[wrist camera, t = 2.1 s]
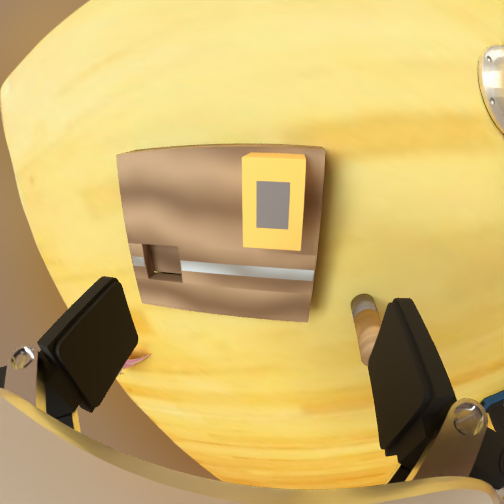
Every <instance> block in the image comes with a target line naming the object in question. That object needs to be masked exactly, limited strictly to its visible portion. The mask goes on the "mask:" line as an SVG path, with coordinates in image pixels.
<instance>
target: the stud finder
mask: <svg viewBox="0 0 504 504" xmlns="http://www.w3.org/2000/svg"><path fill="white" fill-rule="evenodd" d="M305 173H306V158H305V155H304V154H290V153H262V152H251V153H249V154H247V155H245V156H243V157H242V212H243V247H250V248H265V249H280V250H295V251H301V238H302V225H303V210H304V193H305Z"/></svg>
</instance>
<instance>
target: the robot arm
mask: <svg viewBox="0 0 504 504" xmlns="http://www.w3.org/2000/svg"><path fill="white" fill-rule="evenodd" d="M478 77H479V84H480V89H481V93H482V96H483V100H484V102H485V105H486V107H487V110H488V112H489V114H490V116H491V118H492V119H493V121H494V122H495V124H496V126H497V127H498V128H499V129H500V131H501V132H502V133H503V134H504V46H502V45H493V46H490V47H487V48H486V49H485V50H484V51H483V52H482V54H481V56H480V59H479V64H478ZM37 343H38V345H39V347H40V348H41V351H40V352H38V351H37V348H36V347H35V346H33V345H31V344H26V345H22V346H20V347H18V348H17V349H15V350H14V351H13V352H12V353H11V355H10V357H9V360H8V364H7V366H4V367H1V368H0V504H504V436H502V435H500V434H499V433H497V432H495V431H493V430H492V429H490V428H488V427H487V424H488V418H487V413H486V411H485V409H484V408H483V406H482V405H481V404H480V403H478V402H477V401H476V400H473V399H470V398H463V399H460V400H458V401H457V399H456V397H455V394H454V391H453V388H452V386H451V383H450V380H449V378H448V375H447V373H446V370H445V368H444V365H443V363H442V361H441V358H440V356H439V354H438V351H437V349H436V347H435V345H434V342H433V341H432V339H431V337H430V335H429V332H428V330H427V328H426V326H425V324H424V322H423V320H422V318H421V316H420V314H419V312H418V310H417V308H416V306H415V304H414V302H413V301H412V299H410V298H395V299H394V300H393V302H392V303H389V304H388V305H387V308H386V312H385V315H384V318H383V321H382V324H381V327H380V330H379V333H378V336H377V338H376V341H375V344H374V347H373V349H372V352H371V355H370V357H369V361H368V370H369V375H370V381H371V386H372V392H373V398H374V404H375V411H376V418H377V425H378V433H379V442H380V447H381V449H385V455H386V456H393V455H397V457H398V463H399V464H398V465H397V467H396V468H395V470H394V471H393V472H392V474H391V475H390V476H389V478H388V479H387V480H386V482H385V483H384V484H383V485H376V486H368V487H358V488H345V489H317V490H304V489H279V488H266V487H256V486H248V485H241V484H234V483H228V482H222V481H217V480H212V479H207V478H203V477H198V476H194V475H189V474H186V473H182V472H179V471H175V470H171V469H168V468H165V467H162V466H158V465H155V464H152V463H149V462H147V461H144V460H141V459H138V458H135V457H133V456H130V455H128V454H125V453H123V452H120V451H118V450H115V449H113V448H111V447H109V446H106V445H104V444H102V443H100V442H98V441H96V440H94V439H92V438H90V437H88V436H85V435H84V434H82V433H81V430H80V425H79V420H78V413H77V407H78V405H79V406H80V407H81V408H82V409H85V410H86V411H89V412H91V413H92V412H93V410H94V408H95V407H97V406H99V405H100V403H101V402H102V400H103V398H104V397H105V395H106V393H107V392H108V390H109V388H110V387H111V385H112V383H113V382H114V380H115V379H116V377H117V375H118V374H119V372H120V370H121V369H122V367H123V366H124V364H125V362H126V361H127V359H128V358H129V356H130V355H131V353H132V351H133V350H134V348H135V347H136V345H137V343H138V335H137V332H136V329H135V326H134V323H133V320H132V317H131V314H130V311H129V308H128V305H127V301H126V298H125V295H124V291H123V288H122V285H121V283H119V281H118V280H117V279H116V278H113V277H105V276H103V277H101V278H100V279H99V280H98V281H97V282H95V283H94V284H93V285H92V286H91V287H90V288H89V289H88V290H87V291H86V292H85V293H84V294H83V295H82V296H81V297H80V298H79V299H78V300H77V301H76V302H75V303H74V304H73V305H72V306H71V307H70V308H69V309H68V310H67V311H66V312H65V313H64V314H63V315H62V316H61V317H60V318H59V319H58V320H57V321H56V322H55V323H54V324H53V326H52V327H51V328H50V329H49V330H48V331H47V332H46V333H45V334H44V335H43V336H42V338H41V339H40V340H39V341H38V342H37Z"/></svg>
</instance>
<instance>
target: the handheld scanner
mask: <svg viewBox="0 0 504 504" xmlns="http://www.w3.org/2000/svg"><path fill="white" fill-rule="evenodd" d="M481 405H482V406H483V408H484V409H485V411H486V413H489V416H490V418H491V421H492V424H493V427H494V429H495V431H496V432H497V433H499V434H500V435H502V436H504V390H503V391H501V392H499V393H497V394H494V395H492V396H489V397H487V398H484V400H483V401H482V402H481Z"/></svg>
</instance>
